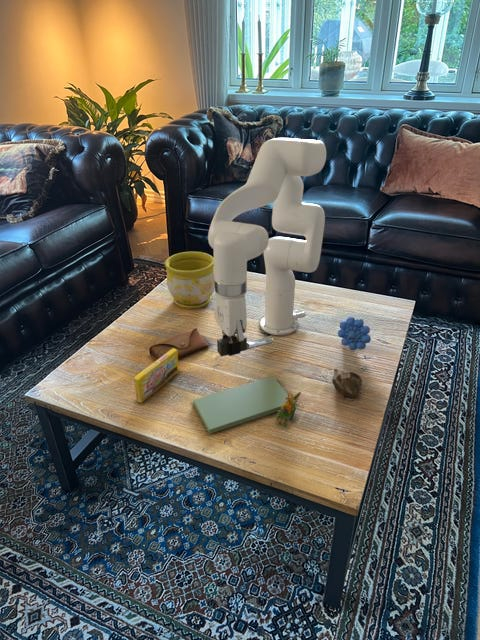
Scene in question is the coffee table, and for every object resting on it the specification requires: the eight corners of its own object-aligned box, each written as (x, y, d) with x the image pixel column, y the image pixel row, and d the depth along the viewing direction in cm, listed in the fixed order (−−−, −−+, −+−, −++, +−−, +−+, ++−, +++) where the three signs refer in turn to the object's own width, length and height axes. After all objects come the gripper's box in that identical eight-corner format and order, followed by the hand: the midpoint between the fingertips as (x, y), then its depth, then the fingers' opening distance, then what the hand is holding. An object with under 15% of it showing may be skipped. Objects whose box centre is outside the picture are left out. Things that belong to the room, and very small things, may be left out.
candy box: (142, 404, 118) (138, 380, 114) (136, 401, 119) (132, 377, 115) (179, 372, 130) (177, 349, 126) (174, 369, 131) (171, 347, 127)
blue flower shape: (375, 352, 138) (381, 320, 131) (362, 361, 134) (368, 327, 128) (345, 337, 145) (350, 305, 139) (332, 344, 141) (336, 312, 135)
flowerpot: (175, 288, 175) (172, 250, 167) (220, 291, 173) (219, 252, 165) (163, 311, 160) (158, 270, 152) (211, 314, 158) (209, 273, 149)
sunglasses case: (163, 366, 131) (155, 346, 130) (154, 367, 137) (146, 347, 136) (212, 344, 141) (204, 325, 140) (201, 345, 147) (194, 327, 146)
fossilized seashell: (328, 368, 127) (327, 396, 119) (343, 356, 123) (343, 383, 115) (349, 380, 128) (350, 407, 121) (365, 368, 124) (366, 396, 117)
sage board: (272, 379, 127) (272, 375, 126) (293, 406, 117) (294, 401, 116) (193, 403, 118) (193, 399, 117) (209, 434, 109) (209, 429, 108)
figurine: (270, 429, 110) (271, 405, 106) (294, 403, 118) (296, 379, 114) (281, 435, 108) (282, 410, 104) (305, 407, 117) (307, 383, 112)
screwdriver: (221, 356, 110) (220, 344, 108) (217, 351, 112) (217, 339, 111) (275, 342, 116) (275, 331, 114) (270, 337, 118) (270, 326, 116)
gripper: (203, 275, 108) (206, 338, 118) (229, 304, 95) (230, 372, 105) (231, 270, 111) (232, 331, 120) (260, 297, 98) (258, 364, 107)
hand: (231, 350), depth 112 cm, fingers closed on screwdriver, 2 cm apart
